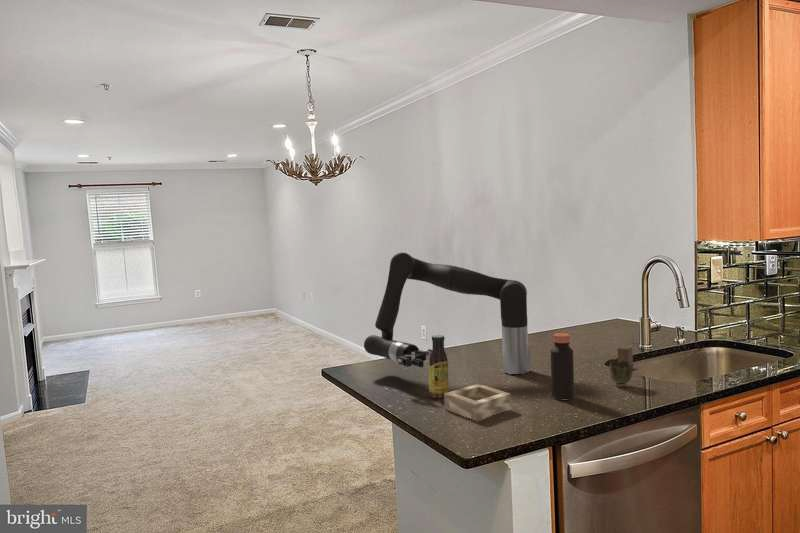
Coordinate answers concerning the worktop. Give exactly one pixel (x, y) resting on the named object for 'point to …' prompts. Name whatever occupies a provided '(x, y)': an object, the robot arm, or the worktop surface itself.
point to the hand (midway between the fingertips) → (433, 361)
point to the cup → (621, 372)
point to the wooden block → (625, 354)
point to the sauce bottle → (438, 368)
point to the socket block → (477, 401)
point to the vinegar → (562, 367)
